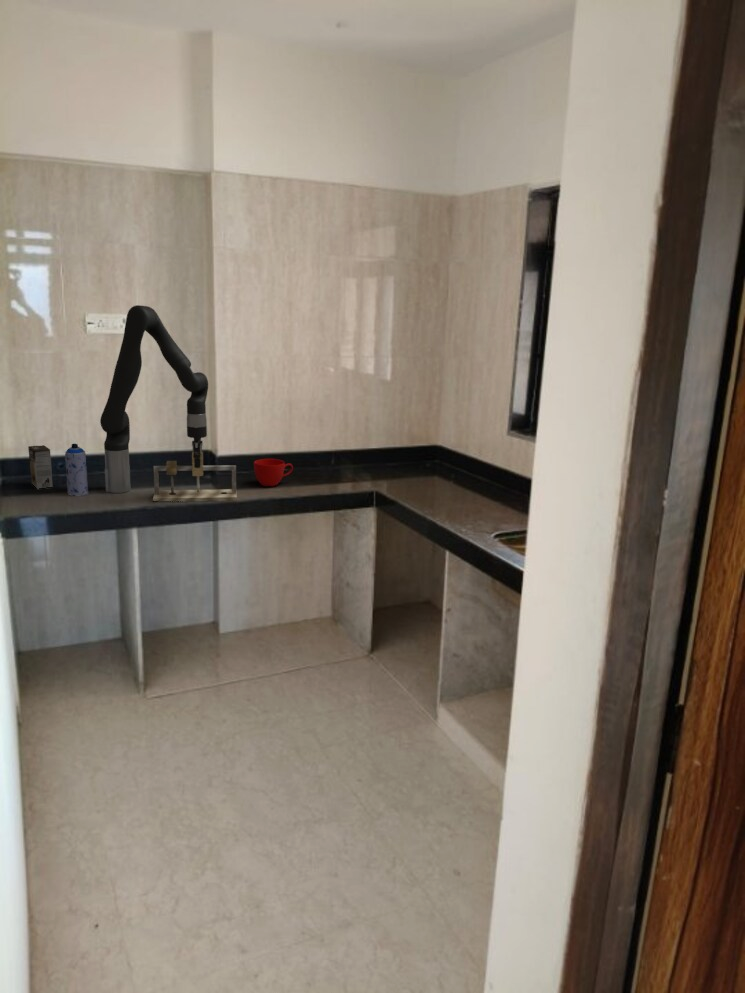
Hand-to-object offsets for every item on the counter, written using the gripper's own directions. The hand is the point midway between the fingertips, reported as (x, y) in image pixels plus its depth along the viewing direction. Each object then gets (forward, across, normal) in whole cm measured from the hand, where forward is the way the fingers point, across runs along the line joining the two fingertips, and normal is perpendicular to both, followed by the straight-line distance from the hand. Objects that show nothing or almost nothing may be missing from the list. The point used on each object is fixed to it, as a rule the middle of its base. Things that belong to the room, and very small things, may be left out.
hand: (197, 465), depth 295 cm
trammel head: (+11, 0, 0) cm, 11 cm away
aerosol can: (+13, -8, -47) cm, 49 cm away
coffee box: (+13, -20, -63) cm, 67 cm away
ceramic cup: (+13, -19, +31) cm, 39 cm away
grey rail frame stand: (+13, 0, -1) cm, 13 cm away
